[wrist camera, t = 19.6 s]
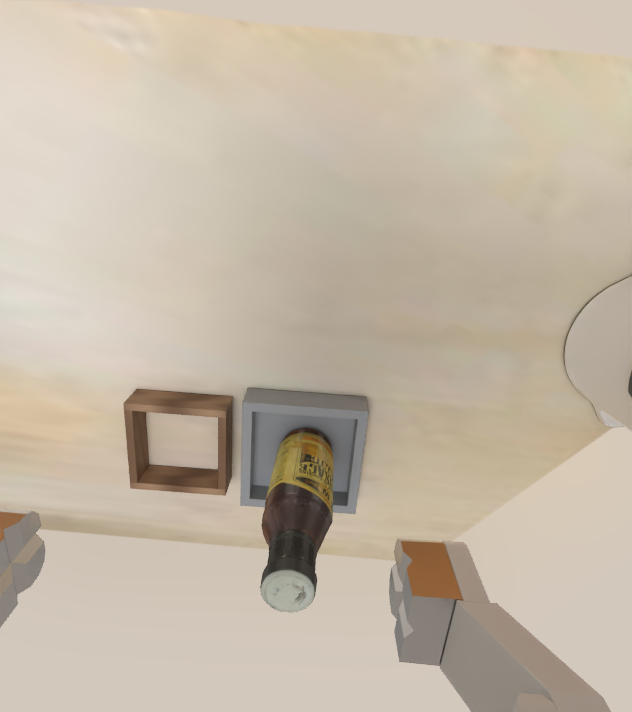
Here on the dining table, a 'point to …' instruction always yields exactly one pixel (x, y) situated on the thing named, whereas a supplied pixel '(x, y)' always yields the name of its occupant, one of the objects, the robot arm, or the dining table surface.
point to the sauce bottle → (297, 518)
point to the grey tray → (294, 412)
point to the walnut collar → (168, 475)
